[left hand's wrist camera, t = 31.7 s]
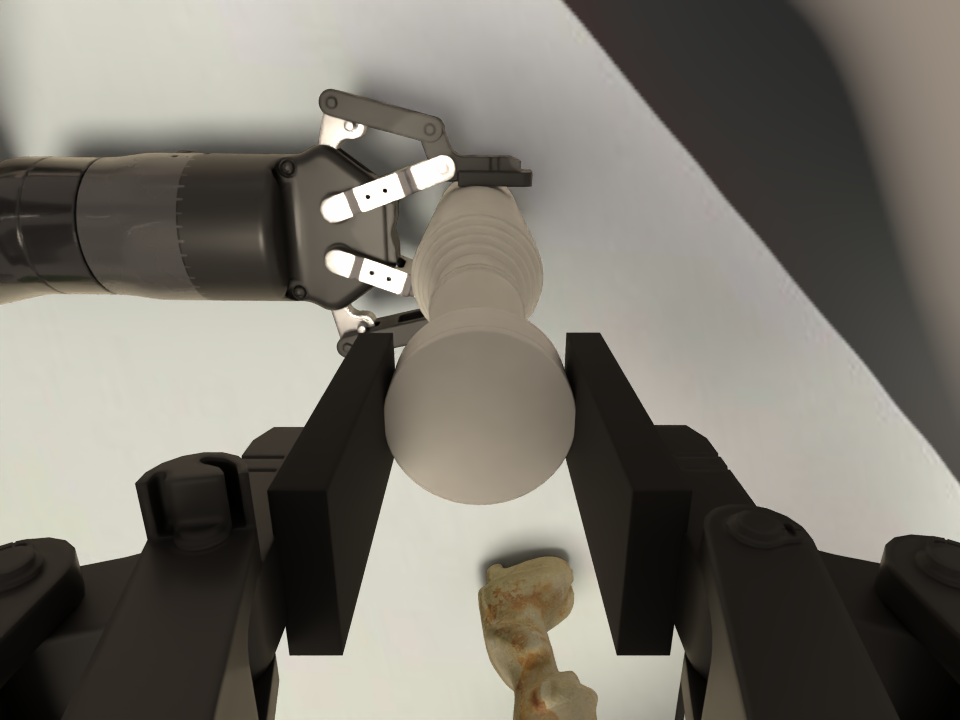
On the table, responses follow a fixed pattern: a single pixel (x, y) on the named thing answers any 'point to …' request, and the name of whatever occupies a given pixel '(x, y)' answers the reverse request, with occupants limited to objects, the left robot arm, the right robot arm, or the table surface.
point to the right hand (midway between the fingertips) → (527, 231)
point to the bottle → (476, 255)
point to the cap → (479, 407)
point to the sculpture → (532, 638)
